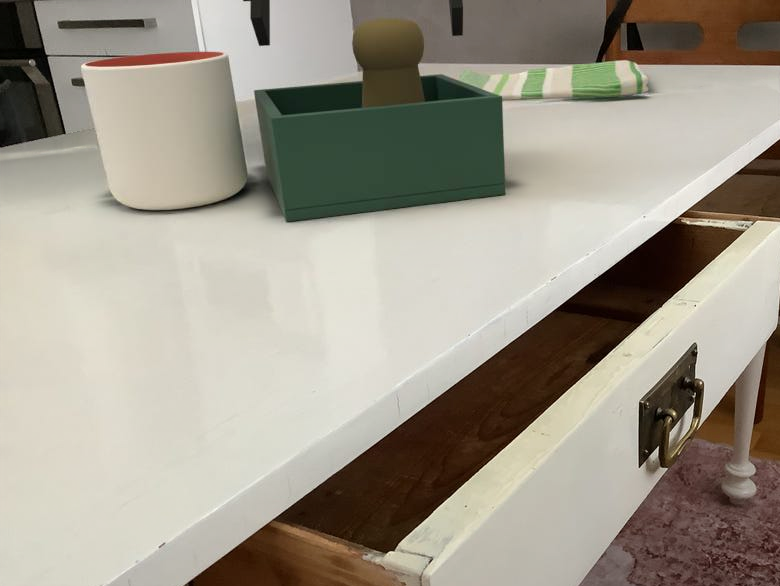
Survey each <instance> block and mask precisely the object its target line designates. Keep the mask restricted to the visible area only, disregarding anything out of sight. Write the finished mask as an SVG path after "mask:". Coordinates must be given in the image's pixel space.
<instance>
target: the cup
mask: <svg viewBox="0 0 780 586" xmlns="http://www.w3.org/2000/svg"><path fill="white" fill-rule="evenodd" d="M80 70H81V75H82V79H83V82H84V88H85V92H86V96H87V100H88V105H89V109H90V113H91V117H92V121H93V122H92V123H93V126H94V129H95V133H96V138H97V143H98V146H99V151H100V155H101V159H102V163H103V164H102V165H103V168H104V173H105V176H106V181H107V185H108V189H109V191H110V193H111V195H112V196H113V197H114V199H115V200H116V201H118V202H119V203H120V204H121V205H122V204H123V205H124V206H126V207H129V208H133V209H136V210H137V209H138V210H144V211H147V210H148V211H168V210H169V211H171V210H182V209H191V208H195V207H201V206H205V205H210V204H213V203H217V202H220V201H224V200H227V199H228V198H231V197H233V196H235V195H236V194H237V193H239V192H240V191H241V190H242V189H243V188H244V186H245V185H246V183H247V180H248V166H247V161H246V155H245V154H246V153H245V149H244V141H243V137H242V131H241V130H242V129H241V124H240V119H239V113H238V105H237V101H236V95H235V89H234V88H235V87H234V82H233V76H232V70H231V64H230V58H229V55H228V54H227V53H226V52H222V51H179V52H178V51H176V52H163V53H162V52H161V53H147V54H146V53H145V54H138V55H128V56H119V57H111V58H104V59H97V60H93V61H88V62H85V63H82V64H81V65H80Z"/></svg>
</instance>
